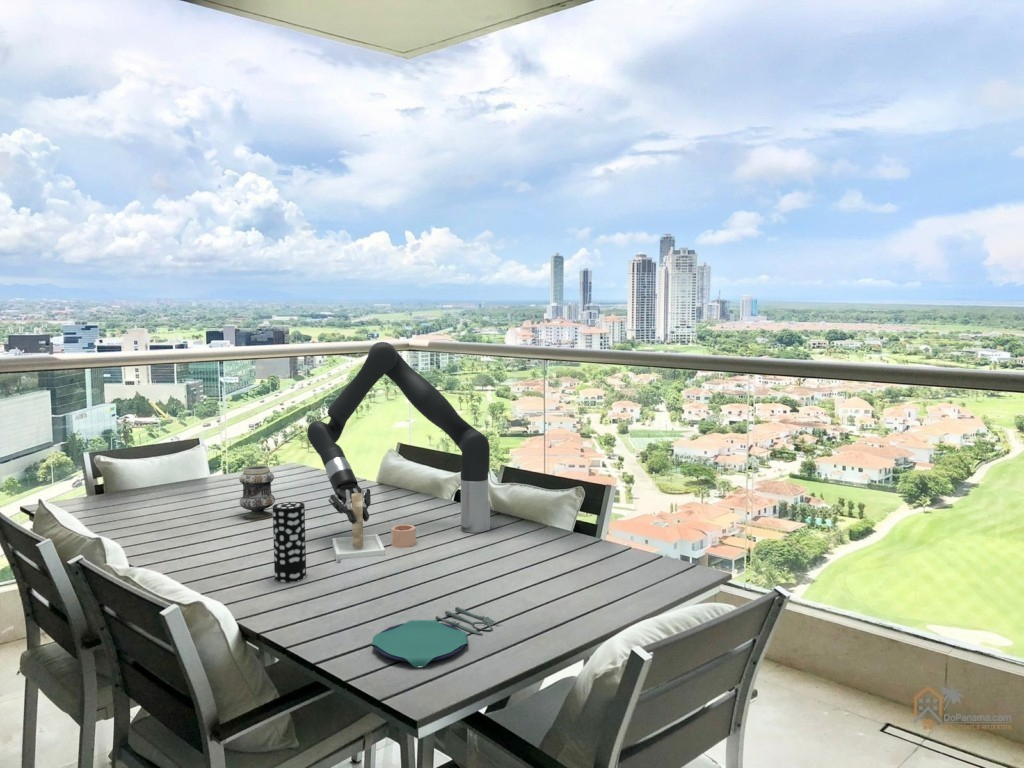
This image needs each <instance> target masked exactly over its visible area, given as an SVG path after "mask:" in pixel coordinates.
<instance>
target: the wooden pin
mask: <svg viewBox="0 0 1024 768" xmlns="http://www.w3.org/2000/svg"><path fill="white" fill-rule="evenodd" d="M362 498H363V496H362V493H353V494H352V503H351V510H353V512H354V515H355V517H356V519H357V521H356V523H355V524H352V523H351V529H352V531H351V533H352V534H351V535H352V536H351V537H352V542H353V547H355V548H359V547H363V536H364V520H363V503H362Z"/></svg>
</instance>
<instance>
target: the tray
mask: <svg viewBox="0 0 1024 768" xmlns="http://www.w3.org/2000/svg"><path fill="white" fill-rule="evenodd" d="M331 540H332V545H333V546H332V545H331V546H332V549H334V550H333V553H335V554H334V557H336V558H335V561H336V563H338V564H340V563H339V562H341V563H342V561H341V560H346V559H348V560H349V559H358V558H367V557H369V558H371V557H379V556H381V557H382V556H386V549H385V546H384V544H383V543H382V541H381V538H380V536H379V534H365V535H364V534H363V547H359V548H355V547H353V542H352V536H345V537H344V536H342V537H333V538H332V539H331Z"/></svg>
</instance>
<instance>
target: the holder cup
mask: <svg viewBox="0 0 1024 768" xmlns="http://www.w3.org/2000/svg"><path fill="white" fill-rule="evenodd" d="M416 529H417V528H416V526H415V525H411V524H396V525H394V526H392V527H391V526H390V545H391V546H392V547H394V548H400V549H402V548H409V547H410V548H411V547H413V546H415V545H416V544H417V535H416V532H417V530H416Z"/></svg>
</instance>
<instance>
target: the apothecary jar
mask: <svg viewBox="0 0 1024 768" xmlns="http://www.w3.org/2000/svg"><path fill="white" fill-rule="evenodd" d="M238 480H239V482H240V483H241V484H242V488H243V489H242V497H241V498H240V499H239V505H240V506H241V508H243V509H245V510H247V511H249V512H248V513H246V514H244V515H243V519H244V518H245V520H247V519H249V521H253V520H254V521H257V520H258V521H259V520H266V519H269V518H271V517H273V512H270V511H267V510H266V509H268V508H270V507H273V505H275V501H276V498H275V496H274V495H273V494H272V482H273V481H274V480H275V475H274V473H272V472H271V471H270V468H269V465H250V466H245V467H244V469H243V473H241V475H240V476H239V479H238Z"/></svg>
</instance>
